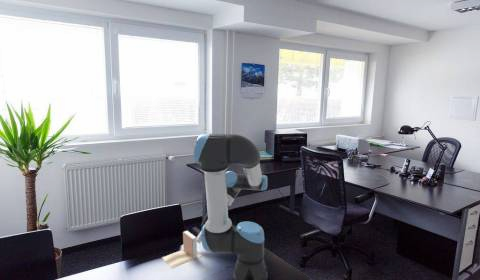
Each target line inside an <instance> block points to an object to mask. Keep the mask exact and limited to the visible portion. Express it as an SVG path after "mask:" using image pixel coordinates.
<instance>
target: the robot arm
mask: <svg viewBox="0 0 480 280" xmlns="http://www.w3.org/2000/svg"><path fill="white" fill-rule="evenodd" d="M261 158H262V157H261V153H260V150H259V148H258V146H257V145H256V144H255V143H254V142H253V141H252V140H250V139H249V138H248V137H246V136H243V135H241V134H237V133H236V134H235V133H233V134H231V133H229V134H228V133H226V134H224V133H202V134H200V135H199V136H198V137H197V139H196V141H195V144H194V148H193V161H194V163H195V164H199V169H200V171H201V172H203V173H204V174H203V175H204V185H205V187H204V188H205V196H206V197H205V198H206V208H207V211H206V214H205V216H204V218H203V220H202V222H201V224H200V228H201V230H200V231H199V232H198V235H197V236H196V238H197V243H198V244H202V247H203V249H204V250H205V251H206V252H211V253H214V254H216V253H220V254H230V255H231V254H232V255H237V257H236V258H237V259H236V261H235V264H234V265H235V266H234V267H233V271H232V273H233V279H234V280H268V278H269V277H268V273H269V272H268V267H267V265H266V261H265V231H264V229H263V227H262V226H261V225H260V224H258V223H256V222H253V221H248V220H247V221H241V222H239V223H237V225H233V223H232V220H231V218H229V209H230V206H232V204H233V202H234V201H235V199H236V197H237V196H238V195H239V193H240V192H241V191H242V190H246V191H247V190H250V191H251V190H252V191H266V190H267V189H268V176H267V175H264V174H263V173H262V170H261V169H262V168H261V164H260V162H261ZM230 165H237V166H238V165H239V166H240V167H241V168H242V169H243V173H244V174H243V173H236V172H234V171H233V170H229V171H227V170H228V169H229V168H230Z"/></svg>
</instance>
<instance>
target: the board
mask: <svg viewBox="0 0 480 280" xmlns="http://www.w3.org/2000/svg"><path fill="white" fill-rule="evenodd" d="M202 256H203V255H202V253H201V254H200V253H199V252H198V251H197V257H195V258H192V257H191V256H189V255H188V254H187V253H186V252H185V251H184V248H183V249H181V250H178V251H176V252H173V253H170V254H168V255H166V256H165V255H164V256H162V257H161V259H162V260H163V261H164V262H165V263H166V264H168V266H169V267H171V269H174V268H176V267H178V266H182V265H184V264H187V263H189V262H190V261H193V260H196V259H198V258H200V257H202Z"/></svg>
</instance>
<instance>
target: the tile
mask: <svg viewBox="0 0 480 280" xmlns="http://www.w3.org/2000/svg"><path fill="white" fill-rule="evenodd" d="M182 241H183V243H182V244H183V249H184V251H185V252H186V253H187V254H188V255H189V256H191V257H192V258H195V257H197V252H198V246H197V243H198V242H197V236H195V235H194V234H193V233H191V232H190V231H189V230H185V231H183V232H182Z"/></svg>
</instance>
